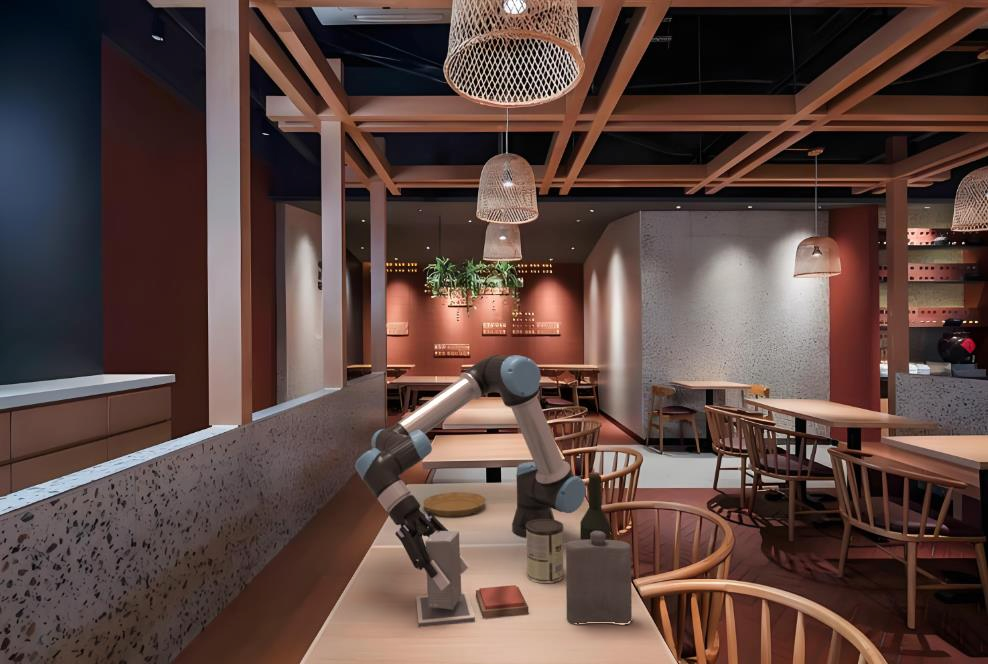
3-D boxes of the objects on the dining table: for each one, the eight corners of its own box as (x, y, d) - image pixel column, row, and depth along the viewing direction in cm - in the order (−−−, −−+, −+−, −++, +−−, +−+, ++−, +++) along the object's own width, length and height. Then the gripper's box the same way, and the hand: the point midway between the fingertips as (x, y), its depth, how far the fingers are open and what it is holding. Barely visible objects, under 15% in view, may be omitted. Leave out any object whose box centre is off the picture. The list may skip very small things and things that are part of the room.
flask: (628, 613, 130) (627, 528, 130) (633, 626, 124) (633, 537, 124) (565, 612, 131) (564, 528, 131) (567, 625, 125) (566, 537, 125)
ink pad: (518, 592, 141) (518, 583, 141) (528, 613, 130) (528, 603, 130) (475, 596, 139) (475, 587, 139) (482, 618, 128) (482, 608, 128)
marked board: (467, 595, 140) (467, 591, 140) (474, 621, 127) (474, 617, 127) (416, 600, 137) (416, 596, 137) (418, 627, 124) (418, 622, 124)
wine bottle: (605, 598, 137) (604, 478, 138) (574, 590, 142) (573, 474, 142) (616, 586, 144) (615, 472, 145) (587, 578, 149) (586, 468, 149)
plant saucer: (412, 516, 204) (412, 507, 204) (437, 497, 227) (437, 489, 227) (474, 521, 197) (474, 512, 197) (493, 502, 220) (493, 494, 220)
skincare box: (453, 610, 127) (452, 542, 127) (424, 608, 129) (423, 540, 129) (462, 594, 136) (462, 529, 136) (435, 591, 137) (434, 528, 137)
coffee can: (531, 566, 157) (531, 516, 158) (567, 570, 154) (566, 520, 154) (521, 581, 148) (521, 528, 148) (559, 586, 144) (558, 532, 145)
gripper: (414, 501, 149) (467, 570, 142) (364, 526, 129) (422, 607, 122) (431, 483, 146) (485, 552, 140) (382, 506, 127) (442, 588, 120)
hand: (455, 578), depth 131 cm, fingers closed on skincare box, 9 cm apart
